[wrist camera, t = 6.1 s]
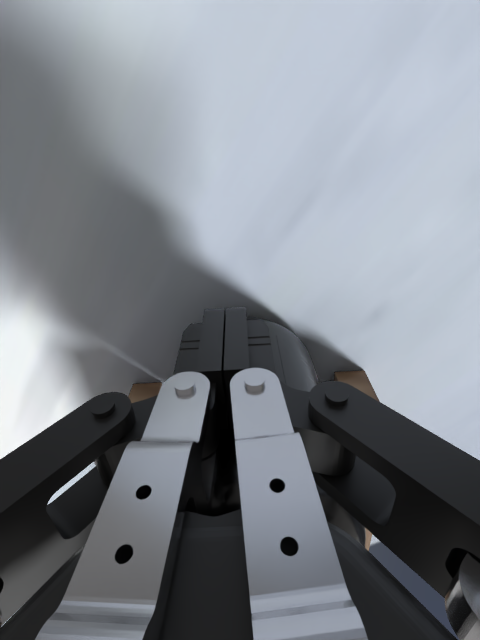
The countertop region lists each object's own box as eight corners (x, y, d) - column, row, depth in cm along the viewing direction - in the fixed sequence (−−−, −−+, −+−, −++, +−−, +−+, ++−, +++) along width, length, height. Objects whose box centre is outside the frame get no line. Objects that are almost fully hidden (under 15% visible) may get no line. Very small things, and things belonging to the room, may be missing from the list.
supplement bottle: (202, 426, 20) (166, 770, 10) (156, 330, 16) (21, 710, 6) (321, 402, 19) (423, 753, 9) (300, 295, 15) (430, 673, 5)
